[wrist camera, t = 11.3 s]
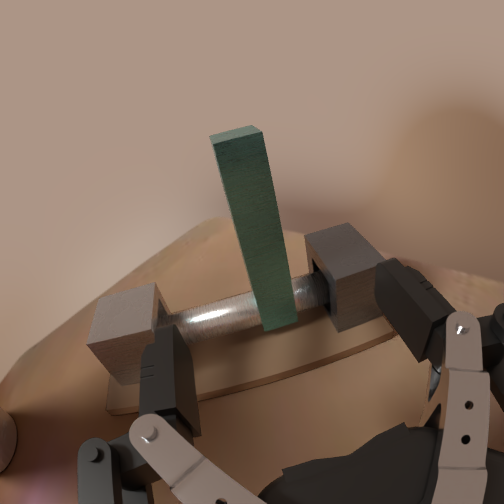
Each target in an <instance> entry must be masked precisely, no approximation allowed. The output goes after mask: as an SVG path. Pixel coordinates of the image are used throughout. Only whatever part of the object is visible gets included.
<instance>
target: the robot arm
mask: <svg viewBox="0 0 504 504" xmlns="http://www.w3.org/2000/svg"><path fill="white" fill-rule="evenodd" d="M374 296H375V300H376V303H377V305H378V306H379V308H380V309H381V310H382V312H383V313H384V315H385V316H386V317H387V319H388V320H389V321H390V323H391V324H392V325H393V327H394V328H395V330H396V331H397V332H398V334H399V335H400V337H401V338H402V339H403V341H404V342H405V344H406V345H407V347H408V348H409V349H410V351H411V352H412V354H413V355H414V357H415V358H416V360H417V361H418V363H420V362H422V361H424V360H426V359H427V358H428V359H429V361H430V362H431V363H430V366H429V375H428V384H427V392H426V399H425V406H424V410H423V413H422V415H421V418H420V422H419V426H418V427H410V428H407V427H406V425H405V423H404V422H403V423H401V424H399V425H397V426H395V427H393V428H391V429H389V430H387V431H385V432H383V433H381V434H378V435H376V436H375V437H374V438H372V439H371V440H370V441H368V442H367V443H366V444H364V445H363V446H362V447H360V448H359V449H357V450H356V451H355V452H353V453H352V454H350V455H347V456H341V457H333V458H325V459H315V460H311V461H308V462H305V463H302V464H298V465H295V466H292V467H288V468H285V469H282V471H283V475H282V476H281V477H279V478H277V479H276V480H274V481H273V482H271V483H270V484H269V485H268V486H266V487H265V488H264V489H263V490H262V492H261V493H260V494H259V495H258V497H257V496H255V495H254V494H252V493H251V492H249V491H248V490H247V489H245V488H244V487H243V486H241V485H240V484H239V483H237V482H236V481H235V480H233V479H232V478H231V477H229V476H228V475H227V474H225V473H224V472H223V471H222V470H220V469H219V468H218V467H217V466H216V465H214V464H213V463H212V462H211V461H209V460H208V459H207V458H206V457H205V456H203V455H202V454H201V453H200V452H199V451H198V450H196V449H195V448H194V442H193V437H198V436H202V435H201V428H200V420H199V412H198V404H197V395H196V386H195V377H194V367H193V360H192V356H191V353H190V350H189V348H188V346H187V344H186V343H185V341H184V339H183V337H182V335H181V333H180V331H179V330H178V328H177V326H176V325H175V324H171V325H167V326H163V327H159V328H156V329H155V341H154V343H151V344H147V345H146V347H145V349H144V351H143V353H142V355H141V367H140V368H141V370H140V378H141V380H140V392H139V417H138V419H136V420H135V421H134V422H133V424H132V425H131V427H130V431H129V432H128V433H126V434H125V435H123V436H120V437H118V438H116V439H114V440H111V441H109V442H106V441H104V440H103V439H100V438H90V439H88V440H86V441H85V442H84V443H83V444H82V445H81V447H80V449H79V451H78V504H154V499H153V492H152V486H151V483H153V482H155V481H158V480H160V479H163V480H164V481H165V482H166V483H167V484H168V485H169V486H170V490H171V492H172V493H173V494H174V495H175V496H176V497H177V498H178V499H179V500H180V501H181V502H182V503H183V504H504V453H503V452H499V451H496V450H493V449H490V448H487V443H488V431H489V414H490V390H491V392H492V393H493V395H494V397H495V398H496V400H497V402H498V403H499V405H500V407H501V408H502V410H503V412H504V303H502V304H499V305H498V306H497V307H496V308H495V310H494V313H493V315H489V316H484V317H479V318H476V317H475V316H473V315H472V314H470V313H468V312H465V311H456V310H455V309H454V308H453V307H452V306H451V305H450V303H449V302H448V301H447V300H446V299H445V298H444V297H443V296H442V295H441V294H440V293H439V292H438V291H437V290H436V288H433V285H432V284H431V283H430V282H429V281H427V279H426V278H425V277H424V276H423V275H422V274H421V273H420V272H419V271H417V270H415V269H413V268H411V267H409V266H407V267H404V266H403V265H402V264H401V263H400V262H399V261H398V260H397V259H396V258H391V259H389V260H386V261H383V262H380V263H378V264H377V265H376V273H375V287H374ZM16 440H17V430H16V425H15V422H14V420H13V419H12V417H11V416H10V415H9V414H8V413H7V412H5V411H4V410H3V409H2V408H1V407H0V472H2V471H3V470H4V469H5V468H6V467H7V465H8V464H9V462H10V460H11V459H12V456H13V454H14V451H15V447H16Z"/></svg>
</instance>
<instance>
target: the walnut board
mask: <svg viewBox="0 0 504 504" xmlns="http://www.w3.org/2000/svg"><path fill="white" fill-rule="evenodd" d="M308 274H309V273H308ZM304 275H306V274H304ZM301 276H303V275H301ZM298 277H300V276H298ZM295 278H297V277H295ZM292 279H294V278H292ZM249 292H251V291H249ZM245 293H247V292H245ZM242 294H244V293H242ZM238 295H240V294H238ZM235 296H237V295H235ZM231 297H234V296H231ZM228 298H230V297H228ZM224 299H227V298H224ZM221 300H223V299H221ZM218 301H220V300H218ZM214 302H216V301H214ZM210 303H213V302H210ZM207 304H209V303H207ZM203 305H206V304H203ZM200 306H202V305H200ZM196 307H198V306H196ZM193 308H195V307H193ZM189 309H191V308H189ZM185 310H188V309H185ZM182 311H184V310H182ZM178 312H180V311H178ZM174 313H177V312H174ZM171 314H173V313H171ZM297 317H298V322H295V323H292V324H289V325H286V326H282V327H279V328H276V329H273V330H269V331H266V332H265V331H264V328H263V325H258V326H255V327H251V328H248V329H245V330H241V331H238V332H234V333H230V334H227V335H223V336H220V337H216V338H212V339H208V340H205V341H201V342H197V343H193V344H189V345H187V346H188V348H189V350H190V353H191V356H192V360H193V367H194V377H195V386H196V395H197V401H201V400H205V399H210V398H214V397H218V396H223V395H227V394H231V393H235V392H239V391H242V390H246V389H250V388H254V387H257V386H261V385H264V384H268V383H271V382H274V381H278V380H281V379H284V378H287V377H291V376H294V375H297V374H300V373H303V372H306V371H309V370H312V369H315V368H318V367H320V366H323V365H326V364H329V363H332V362H334V361H337V360H340V359H342V358H345V357H348V356H350V355H353V354H355V353H358V352H360V351H363V350H365V349H368V348H370V347H373V346H375V345H377V344H380V343H382V342H384V341H387V340H389V339H391V338H393V332H394V330H393V329H392V327H391V326H390V325H389V323H388V322H387V321H386V319H385V318H384V316H381V317H379V318H376V319H374V320H371V321H369V322H366V323H364V324H361V325H358V326H356V327H353V328H351V329H348V330H345V331H343V332H340V333H337V331H336V329H335V327H334V325H333V324H332V322H331V320H330V318H329V316H328V315H327V313H326V311H325V309H324V308H323V306H322V305H321V306H318V307H315V308H312V309H309V310H306V311H303V312H300V313H297ZM139 392H140V383H136V384H131V385H125V386H121V385H120V384H119V383H118V382H117V381H116V380H115V378H114V377H113V376H112V375H111V374H110V379H109V387H108V395H107V404H106V411H107V412H109V413H110V414H111V415H119V414H127V413H134V412H139Z"/></svg>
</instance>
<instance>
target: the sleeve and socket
mask: <svg viewBox="0 0 504 504" xmlns="http://www.w3.org/2000/svg"><path fill="white" fill-rule="evenodd" d="M304 238H305V245H306V252H307V259H308V267H309V274H310V273H313V272H316V271H319V270H320V271H321V272H322V274H323V275H324V277H325V278H326V280H327V281H328V283H329V290H330V303H327V304H324V305H322V306H323V308H324V309H325V311H326V313H327V315H328V316H329V318H330V320H331V322H332V324H333V325H334V327H335V329H336V331H337V333H340V332H343V331H345V330H348V329H351V328H353V327H356V326H358V325H361V324H364V323H366V322H369V321H371V320H374V319H376V318H379V317H381V316H383V312H382V310H381V309H380V308H379V306H378V305H377V303H376V300H375V296H374V287H375V273H376V265H377V264H378V263H380V262H383V261H386V260H385V259H384V258H383V257H382V256H381V254H380V253H379V252H378V251H377V250H376V249H375V248H374V247H373V246H371V244H370V243H369V242H368V241H367V240H366V239H365V238H364V237H363V236H362V235H361V234H360V233H359V232H358V231H357V230H355V228H353V227H352V226H351V225H350V224H349V223H345V224H341V225H338V226H334V227H331V228H328V229H324V230H321V231H317V232H314V233H310V234H307V235H304ZM169 314H171V312H170V310H169V309H168V307H167V305H166V303H165V301H164V299H163V297H162V295H161V293H160V291H159V289H158V287H157V285H156V283H155V282H154V283H150V284H147V285H143V286H140V287H136V288H133V289H130V290H126V291H123V292H119V293H116V294H112V295H109V296H105V297H102V298H99V301H98V304H97V307H96V311H95V314H94V318H93V321H92V325H91V329H90V332H89V336H88V340H87V344H86V345H87V346H88V347H89V348H90V350H91V351H92V352H93V353H94V355H95V356H96V357H97V358H98V360H99V361H100V362H101V363H102V364H103V366H104V367H105V368H106V369H107V370H108V372H109V373H110V374H111V375H112V376H113V377H114V378H115V380H116V381H117V382H118V383H119V384H120V385H121V386H125V385H131V384H136V383H140V380H141V378H140V370H141V368H140V367H141V355H142V353H143V351H144V349H145V347H146V345H147V344H151V343H154V341H155V329H156V328H157V318H158V317H162V316H165V315H169Z"/></svg>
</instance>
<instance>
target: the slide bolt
mask: <svg viewBox="0 0 504 504" xmlns="http://www.w3.org/2000/svg"><path fill="white" fill-rule="evenodd" d="M210 140H211V144H212V147H213V151H214V154H215V159H216V162H217V166H218V169H219V173H220V177H221V181H222V184H223V188H224V192H225V195H226V199H227V202H228V206H229V210H230V213H231V217H232V221H233V224H234V228H235V231H236V235H237V239H238V242H239V246H240V249H241V253H242V257H243V260H244V264H245V267H246V271H247V274H248V278H249V281H250V285H251V288H252V291H251V292H247V293H244V294H240V295H237V296H234V297H230V298H227V299H223V300H220V301H216V302H213V303H209V304H206V305H202V306H198V307H195V308H191V309H188V310H184V311H180V312H177V313H173V314H169V315H165V316H162V317H158V318H157V328H159V327H163V326H167V325H171V324H175V325H176V326H177V328H178V330H179V331H180V333H181V335H182V337H183V339H184V341H185V343H186V344H187V345H189V344H193V343H197V342H201V341H205V340H208V339H212V338H216V337H220V336H223V335H227V334H230V333H234V332H238V331H241V330H245V329H248V328H251V327H255V326H258V325H263V328H264V331H265V332H266V331H269V330H273V329H276V328H279V327H282V326H286V325H289V324H292V323H295V322H298V317H297V313H300V312H303V311H306V310H309V309H312V308H315V307H318V306H321V305H324V304H327V303H330V290H329V283H328V281H327V280H326V278H325V277H324V275H323V274H322V272H321V271H320V270H319V271H316V272H313V273H310V274H306V275H303V276H300V277H297V278H294V279H291V276H290V271H289V265H288V259H287V254H286V248H285V243H284V238H283V232H282V227H281V222H280V217H279V211H278V206H277V201H276V196H275V191H274V186H273V181H272V176H271V171H270V167H269V162H268V157H267V153H266V148H265V143H264V138H263V133H262V131H260V130H259V129H257V128H256V127H254V126H252V125H250V126H246V127H242V128H238V129H234V130H230V131H226V132H222V133H219V134H215V135H211V136H210Z"/></svg>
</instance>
